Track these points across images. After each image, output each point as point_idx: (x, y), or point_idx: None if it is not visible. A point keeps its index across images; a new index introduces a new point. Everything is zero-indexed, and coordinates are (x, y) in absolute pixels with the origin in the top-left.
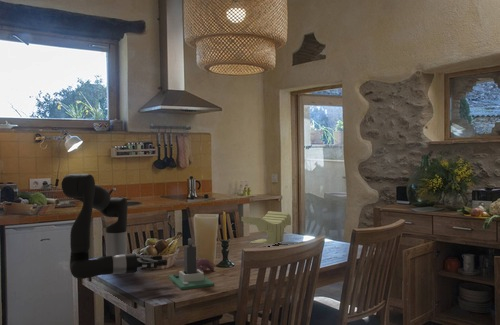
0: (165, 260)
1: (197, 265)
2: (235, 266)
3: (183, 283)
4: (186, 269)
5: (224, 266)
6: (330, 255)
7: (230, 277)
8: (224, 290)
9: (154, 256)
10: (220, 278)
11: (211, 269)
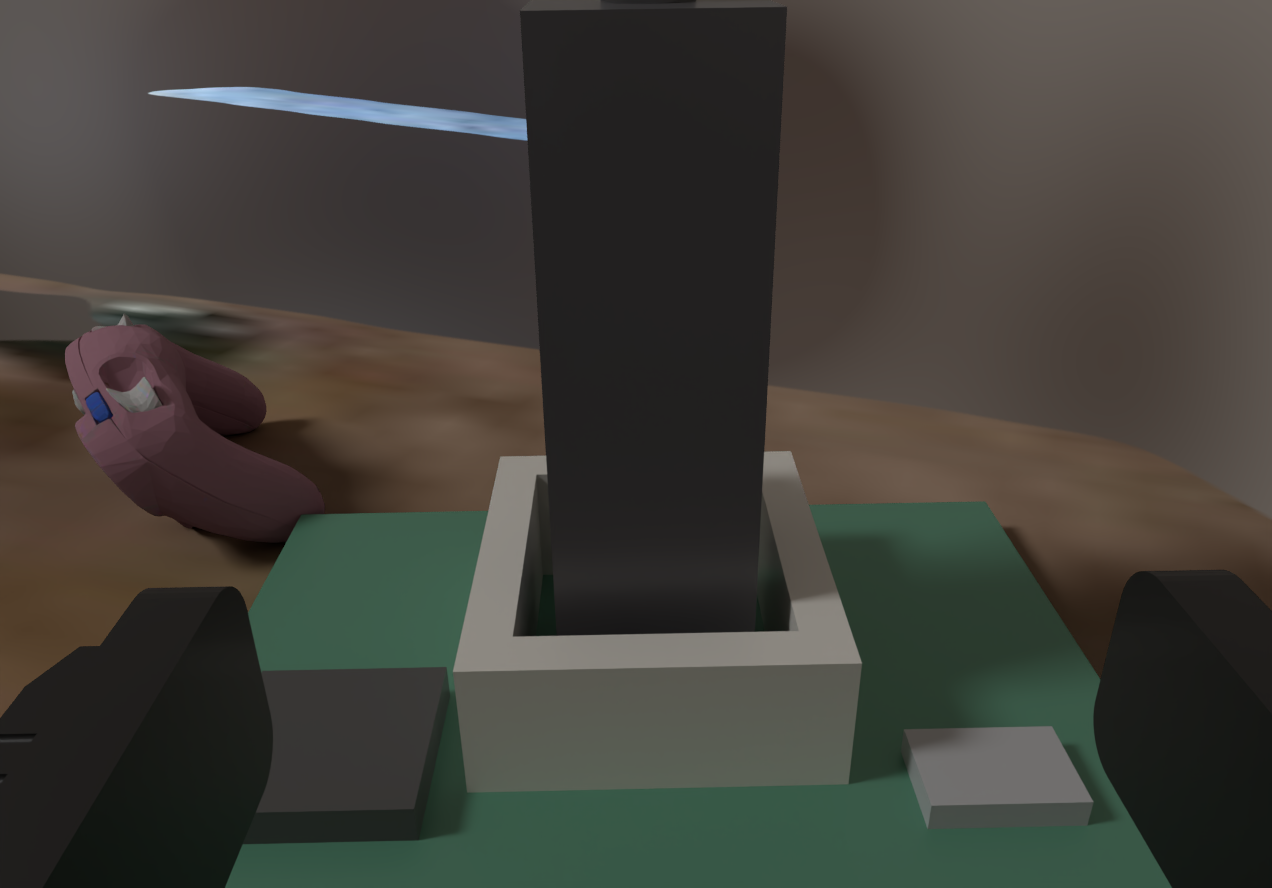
0: (1246, 610)
1: (219, 438)
2: (270, 315)
3: (1040, 806)
4: (719, 539)
5: None
6: (420, 121)
7: None
8: (1213, 501)
9: (59, 874)
10: None
11: (242, 423)
